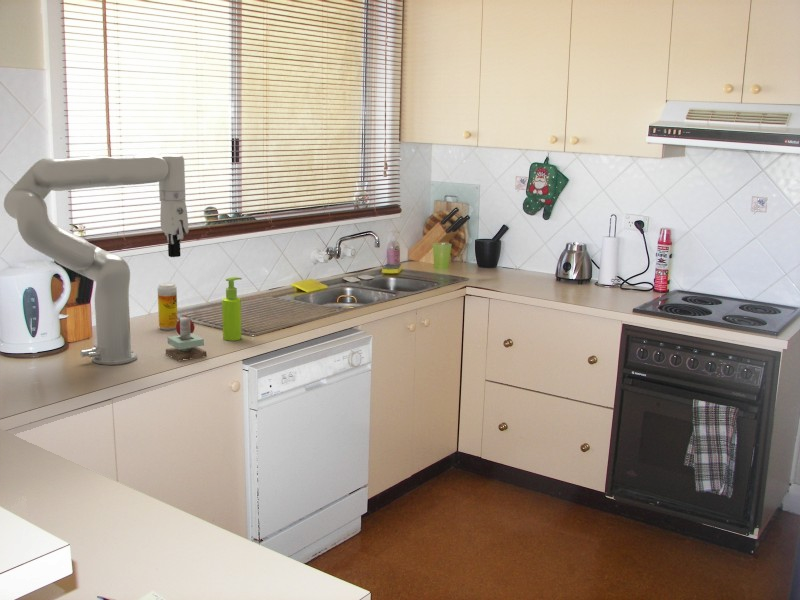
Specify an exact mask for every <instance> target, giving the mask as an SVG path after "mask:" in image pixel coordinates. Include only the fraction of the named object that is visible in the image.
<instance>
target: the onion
mask: <svg viewBox="0 0 800 600" xmlns="http://www.w3.org/2000/svg"><path fill="white" fill-rule="evenodd" d="M182 317H188V314H187V313H186V314H185V313H184V315H183V316H182ZM195 327H196V326H195V323H194V321H193V320H192V319H191V318H190V332H191V333H192V334H194V332H195ZM175 329H176V330H175V332H176V333H177V334H178V335H180V319H179V320H178V322H177V324H176V328H175Z"/></svg>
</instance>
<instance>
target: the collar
mask: <svg viewBox="0 0 800 600" xmlns="http://www.w3.org/2000/svg"><path fill="white" fill-rule="evenodd" d="M167 344H168V345H170V346H172V348H177V349H179V350H181V349H186V348H192V347H203V346H205V341H204V338H203V337H200V336H199V335H197V334H195V333H191V339H189V340H183V341H182V340H181V339H180V335H179V334H178V335H173V336H167Z"/></svg>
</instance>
